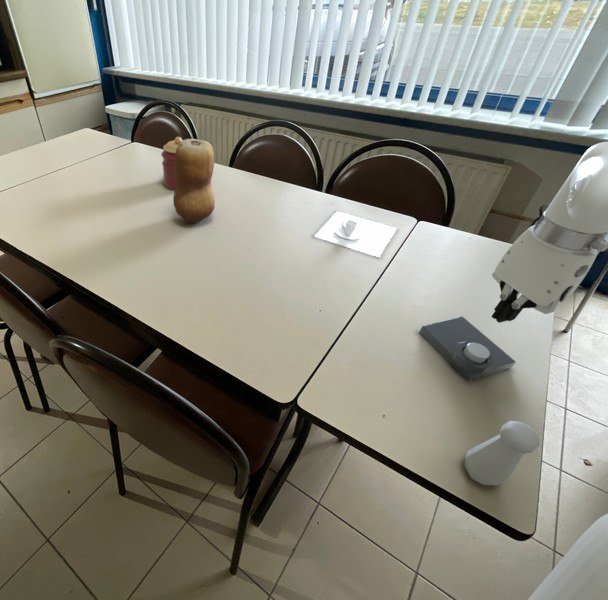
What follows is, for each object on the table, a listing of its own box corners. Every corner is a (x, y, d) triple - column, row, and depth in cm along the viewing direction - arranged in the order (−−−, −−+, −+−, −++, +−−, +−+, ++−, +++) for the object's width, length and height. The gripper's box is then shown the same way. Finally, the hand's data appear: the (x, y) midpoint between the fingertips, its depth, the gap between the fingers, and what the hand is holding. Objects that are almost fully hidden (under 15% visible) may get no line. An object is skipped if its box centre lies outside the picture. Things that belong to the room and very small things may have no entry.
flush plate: (512, 370, 75) (523, 357, 73) (465, 384, 73) (475, 371, 70) (457, 322, 86) (465, 310, 83) (415, 333, 83) (422, 320, 80)
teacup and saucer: (341, 224, 120) (344, 212, 117) (365, 231, 116) (369, 219, 113) (331, 235, 114) (334, 224, 112) (356, 243, 111) (360, 232, 108)
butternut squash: (217, 227, 118) (219, 148, 101) (176, 231, 116) (170, 151, 100) (210, 207, 128) (211, 132, 111) (172, 210, 127) (167, 135, 110)
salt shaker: (474, 449, 63) (517, 407, 54) (507, 480, 59) (559, 440, 50) (451, 464, 61) (492, 423, 52) (484, 497, 57) (533, 459, 48)
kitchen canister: (186, 174, 149) (185, 129, 138) (203, 186, 141) (203, 138, 129) (158, 181, 144) (153, 135, 132) (173, 194, 136) (170, 145, 124)
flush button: (490, 360, 72) (494, 355, 71) (474, 365, 72) (478, 359, 70) (474, 346, 75) (478, 340, 74) (458, 350, 74) (462, 344, 73)
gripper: (640, 255, 50) (555, 343, 62) (539, 205, 61) (483, 289, 73) (600, 264, 48) (521, 353, 61) (503, 211, 59) (453, 296, 71)
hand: (501, 318), depth 67 cm, fingers closed
